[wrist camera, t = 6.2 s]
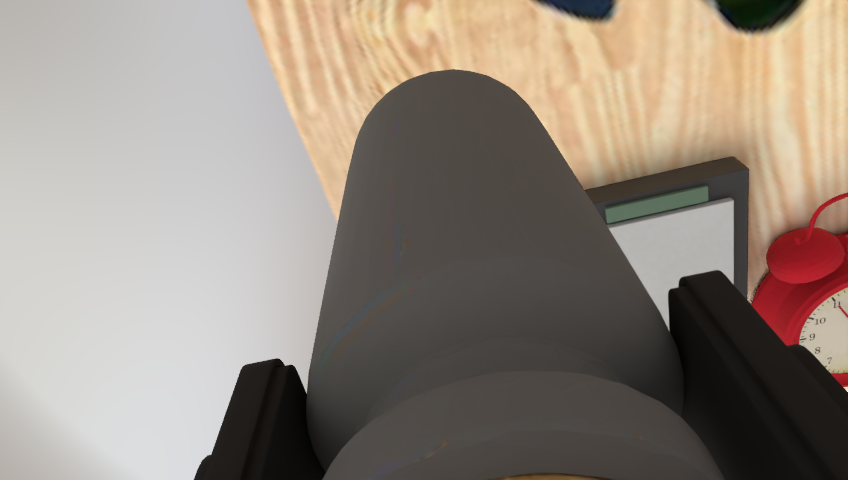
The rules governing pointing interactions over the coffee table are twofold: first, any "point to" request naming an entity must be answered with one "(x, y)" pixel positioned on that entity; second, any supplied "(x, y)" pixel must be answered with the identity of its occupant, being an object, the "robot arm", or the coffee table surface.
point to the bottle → (486, 310)
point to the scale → (681, 224)
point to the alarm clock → (809, 293)
